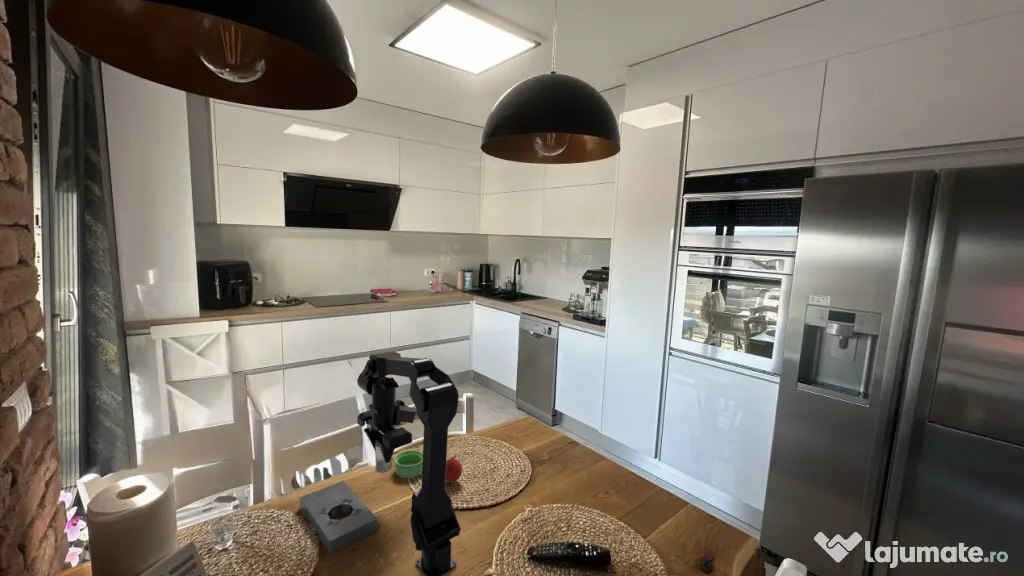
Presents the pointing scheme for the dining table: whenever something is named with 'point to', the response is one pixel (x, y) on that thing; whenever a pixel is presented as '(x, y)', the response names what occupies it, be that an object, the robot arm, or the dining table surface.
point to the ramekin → (408, 463)
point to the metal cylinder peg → (381, 459)
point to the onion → (453, 470)
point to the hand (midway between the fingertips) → (383, 459)
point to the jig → (333, 504)
